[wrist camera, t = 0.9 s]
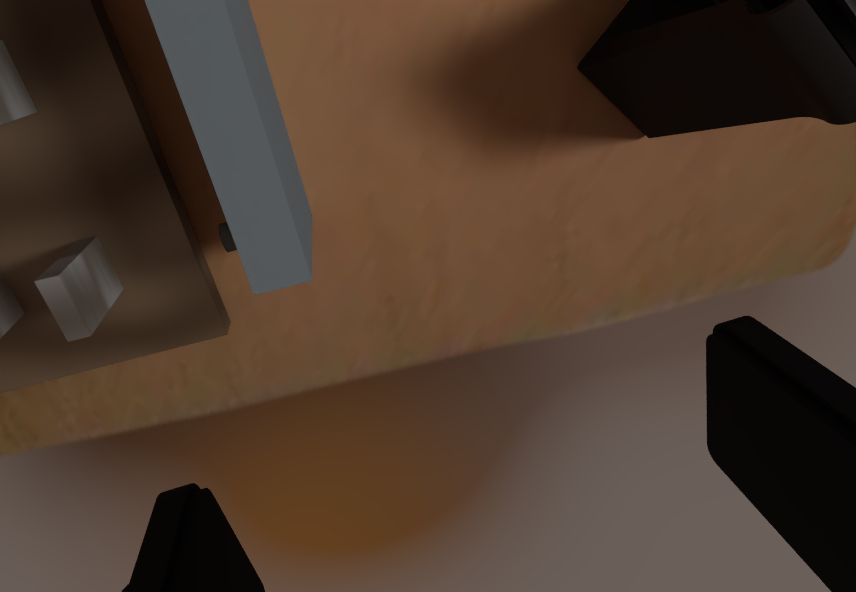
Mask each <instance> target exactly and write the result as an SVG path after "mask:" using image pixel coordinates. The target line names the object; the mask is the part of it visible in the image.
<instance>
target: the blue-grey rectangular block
mask: <svg viewBox="0 0 856 592" xmlns="http://www.w3.org/2000/svg"><path fill="white" fill-rule="evenodd" d="M145 3H146V6H147V8H148V11H149V14H150V16H151V19H152V22H153V24H154V27H155V30H156V32H157V35H158V38H159V40H160V43H161V46H162V49H163V51H164V54H165V57H166V59H167V62H168V65H169V67H170V70H171V73H172V75H173V78H174V81H175V84H176V86H177V89H178V92H179V94H180V97H181V100H182V102H183V105H184V108H185V110H186V113H187V116H188V118H189V121H190V124H191V127H192V129H193V132H194V135H195V137H196V140H197V143H198V145H199V148H200V151H201V153H202V156H203V159H204V161H205V164H206V167H207V170H208V172H209V175H210V178H211V180H212V183H213V186H214V188H215V191H216V194H217V196H218V199H219V202H220V205H221V207H222V210H223V213H224V215H225V218H226V221H227V223H222V224H219V234H220V238H221V241H222V244H223V246H224V248H225V250H226V251H227V252H230V251H234V250H238V253H239V256H240V258H241V261H242V264H243V266H244V269H245V272H246V274H247V277H248V280H249V282H250V285H251V288H252V291H253V293H254V295H257V294H261V293H265V292H269V291H273V290H277V289H281V288H285V287H288V286H292V285H296V284H300V283H304V282H308V281H312V213H311V209H310V206H309V203H308V199H307V196H306V193H305V189H304V186H303V183H302V179H301V176H300V173H299V169H298V166H297V163H296V159H295V156H294V153H293V149H292V146H291V143H290V139H289V136H288V133H287V129H286V126H285V123H284V119H283V116H282V113H281V109H280V106H279V102H278V99H277V96H276V92H275V89H274V86H273V82H272V79H271V76H270V72H269V69H268V66H267V62H266V59H265V56H264V52H263V49H262V46H261V42H260V39H259V36H258V32H257V29H256V26H255V22H254V19H253V16H252V12H251V9H250V5H249V2H248V0H145Z"/></svg>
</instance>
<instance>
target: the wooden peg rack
mask: <svg viewBox="0 0 856 592" xmlns="http://www.w3.org/2000/svg"><path fill="white" fill-rule="evenodd" d="M229 326H230V319H229V317H228V315H227V312H226V310H225V307H224V305H223V302H222V300H221V297H220V295H219V292H218V290H217V287H216V285H215V282H214V280H213V277H212V275H211V272H210V270H209V267H208V265H207V262H206V260H205V257H204V255H203V252H202V250H201V247H200V245H199V242H198V240H197V238H196V235H195V233H194V230H193V228H192V225H191V223H190V220H189V218H188V215H187V213H186V210H185V208H184V205H183V203H182V200H181V198H180V195H179V193H178V190H177V188H176V185H175V183H174V180H173V178H172V175H171V173H170V170H169V168H168V165H167V163H166V160H165V158H164V156H163V153H162V151H161V148H160V146H159V143H158V141H157V138H156V136H155V133H154V131H153V128H152V126H151V123H150V121H149V118H148V116H147V113H146V111H145V108H144V106H143V103H142V101H141V98H140V96H139V93H138V91H137V88H136V86H135V83H134V81H133V79H132V76H131V74H130V71H129V69H128V66H127V64H126V61H125V59H124V56H123V54H122V51H121V49H120V46H119V44H118V41H117V39H116V36H115V34H114V31H113V29H112V26H111V24H110V21H109V19H108V16H107V14H106V11H105V9H104V6H103V4H102V2H101V0H0V392H4V391H8V390H12V389H16V388H20V387H24V386H28V385H32V384H36V383H39V382H43V381H47V380H51V379H55V378H59V377H63V376H67V375H71V374H75V373H79V372H83V371H87V370H90V369H94V368H98V367H102V366H106V365H110V364H114V363H118V362H122V361H126V360H130V359H134V358H137V357H141V356H145V355H149V354H153V353H157V352H161V351H165V350H169V349H173V348H177V347H181V346H185V345H188V344H192V343H196V342H200V341H204V340H208V339H212V338H216V337H220V336H224V335H227V333H228V330H229Z"/></svg>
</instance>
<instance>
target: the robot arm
mask: <svg viewBox="0 0 856 592" xmlns="http://www.w3.org/2000/svg"><path fill="white" fill-rule="evenodd" d="M706 382H707V446H708V450H709V452H710V455H711V457H712V458H713V460H714V461H715V463H716V464H717V465H718V466H719V467H720V468H721V470H722V471H723V472H724V473H725V474H726V475H727V476H728V477H729V478H730V479H731V481H732V482H733V483H734V484H735V485H736V486H737V487H738V488H739V489H740V491H741V492H742V493H743V494H744V495H745V496H746V497H747V498H748V499H749V501H751V503H752V504H753V505H754V506H755V507H756V508H757V509H758V510H759V512H760V513H761V514H762V515H763V516H764V517H765V518H766V519H767V520H768V522H769V523H770V524H771V525H772V526H773V527H774V528H775V529H776V530H777V532H778V533H779V534H780V535H781V536H782V537H783V538H784V539H785V541H786V542H787V543H788V544H789V545H790V546H791V547H792V548H793V549H794V551H796V553H797V554H798V555H799V556H800V557H801V558H802V559H803V561H804V562H806V564H807V565H808V566H809V567H810V568H811V569H812V570H813V571H814V573H815V574H816V575H817V576H818V577H819V578H820V579H821V580H822V582H823V583H824V584H825V585H826V586H827V587H828V588H829V589H830V590H831V592H856V388H855V387H854V386H852V385H851V384H849V383H847V382H846V381H845V380H843V379H842V378H841V377H839V376H838V375H836V374H835V373H833V372H832V371H830V370H829V369H827V368H826V367H824V366H823V365H821V364H820V363H819V362H817V361H816V360H814V359H813V358H811V357H810V356H808V355H807V354H806V353H804V352H802V351H801V350H800V349H798V348H797V347H795V346H794V345H792V344H791V343H789V342H788V341H787V340H785V339H784V338H782V337H781V336H779V335H778V334H776V333H775V332H773V331H772V330H770V329H769V328H768V327H766V326H765V325H763V324H762V323H760V322H759V321H757V320H756V319H754V318H752V317H750V316H743V317H739V318H736V319H733V320H729V321H726V322H723V323H720V324H717V325H716V326H715V327H714V329H713V334H711V335H709V336H708V337H707V341H706ZM122 592H265V590H264V586H263V584H262V582H261V580H260V578H259V577H258V575H257V573H256V571H255V569H254V567H253V566H252V564H251V562H250V560H249V559H248V557H247V555H246V553H245V551H244V549H243V548H242V546H241V544H240V542H239V540H238V539H237V537H236V535H235V534H234V531H233V530H232V528H231V526H230V524H229V523H228V521H227V519H226V517H225V515H224V513H223V512H222V510H221V508H220V506H219V504H218V503H217V501H216V499H215V497H214V496H213V494H212V492H211V491H210V490H209V489H208V488H204V489H200V488H199V486H197V485H196V484H195V483H192V484H188V485H185V486H181V487H178V488H175V489H172V490H168V491H165V492H162V493H160V494H159V495H158V497H157V499H156V502H155V505H154V508H153V511H152V514H151V517H150V521H149V524H148V527H147V530H146V533H145V536H144V539H143V542H142V546H141V549H140V552H139V555H138V558H137V561H136V564H135V567H134V570H133V574H132V577H131V580H130V583H129V584H128V585H127V586H126V587H125V588H124V589H123V590H122Z"/></svg>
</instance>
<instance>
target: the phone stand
mask: <svg viewBox="0 0 856 592" xmlns="http://www.w3.org/2000/svg"><path fill="white" fill-rule="evenodd" d="M578 69H579V70H580V71H581V72H582V73H583V74H584V75H585V76H586V77H587V78H588V79H589V80H590V81H591V82H592V83H593V84H594V85H595V86H596V87H597V88H598V89H599V90H600V91H601V92H602V93H603V94H604V95H605V96H606V97H607V98H608V99H609V100H610V101H611V102H612V103H613V104H614V105H616V106H617V107H618V108H619V109H620V110H621V111H622V112H623V113H624V114H625V115H626V116H627V117H628V118H629V119H630V120H631V121H632V122H633V123H634V124H635V125H636V126H637V127H638V128H639V129H640V130H641V131H642V132H643V133H644V134H645V135H646V136H647V137H648V138H654V137H661V136H668V135H675V134H682V133H689V132H696V131H703V130H710V129H717V128H724V127H731V126H739V125H746V124H753V123H760V122H767V121H774V120H781V119H788V118H795V117H813V118H818V119H821V120H824V121H826V122H828V123H831V124H836V125H843V124H850V123H854V122H856V0H629V2H628V3H627V4H626V6H625V7H624V8H623V9H622V11H621V12H620V13H619V14H618V16H617V17H616V18H615V19H614V21H613V22H612V23H611V24H610V26H609V27H608V28H607V29H606V31H605V32H604V33H603V34H602V36H601V37H600V38H599V39H598V41H597V42H596V43H595V44H594V46H593V47H592V48H591V49H590V51H589V52H588V53H587V54H586V56H585V57H584V58H583V59H582V61H581V62H580V63H579V65H578Z"/></svg>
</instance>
